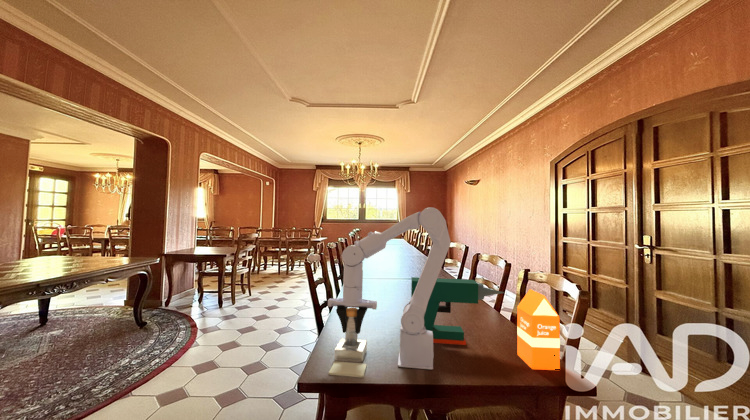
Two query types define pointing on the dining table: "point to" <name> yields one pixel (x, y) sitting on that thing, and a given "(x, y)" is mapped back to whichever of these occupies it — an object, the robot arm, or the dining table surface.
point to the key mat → (348, 369)
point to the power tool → (450, 293)
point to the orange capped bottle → (351, 327)
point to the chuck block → (350, 351)
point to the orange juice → (538, 332)
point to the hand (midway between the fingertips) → (351, 331)
